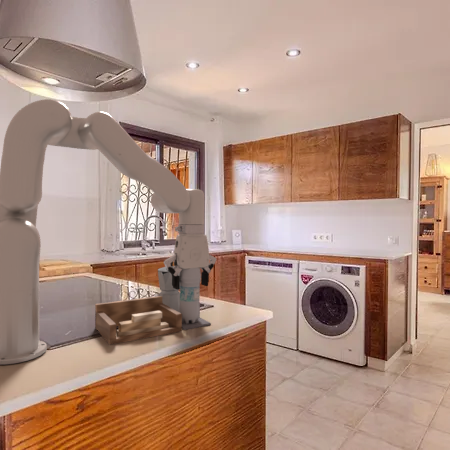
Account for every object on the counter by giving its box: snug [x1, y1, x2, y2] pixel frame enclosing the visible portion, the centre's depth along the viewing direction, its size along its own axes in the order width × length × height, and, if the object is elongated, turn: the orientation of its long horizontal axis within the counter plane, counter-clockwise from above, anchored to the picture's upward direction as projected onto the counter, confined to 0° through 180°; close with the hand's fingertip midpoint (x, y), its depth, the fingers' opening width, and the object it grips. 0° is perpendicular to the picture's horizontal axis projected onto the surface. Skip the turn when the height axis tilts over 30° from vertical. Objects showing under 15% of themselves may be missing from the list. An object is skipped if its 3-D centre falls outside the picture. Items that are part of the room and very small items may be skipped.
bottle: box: [179, 268, 202, 324], centre depth 107 cm, size 7×7×20 cm
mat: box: [182, 317, 212, 331], centre depth 107 cm, size 9×9×1 cm
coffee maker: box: [157, 261, 180, 312], centre depth 120 cm, size 15×9×18 cm, turn 167°
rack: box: [94, 295, 183, 346], centre depth 101 cm, size 20×15×7 cm
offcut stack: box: [116, 311, 169, 337], centre depth 97 cm, size 14×2×6 cm, turn 123°
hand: (190, 286), depth 107 cm, fingers open, 9 cm apart
